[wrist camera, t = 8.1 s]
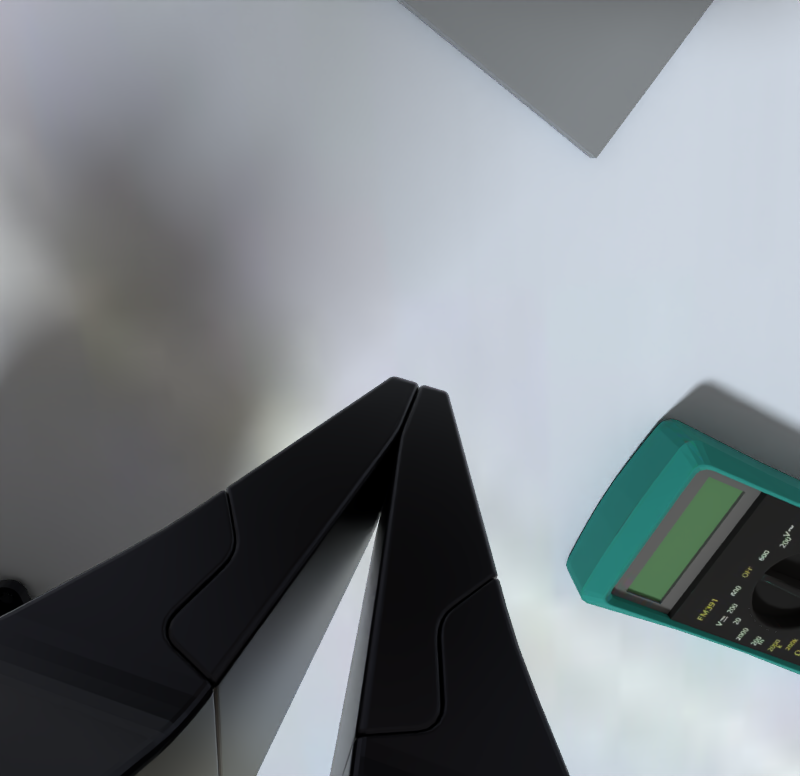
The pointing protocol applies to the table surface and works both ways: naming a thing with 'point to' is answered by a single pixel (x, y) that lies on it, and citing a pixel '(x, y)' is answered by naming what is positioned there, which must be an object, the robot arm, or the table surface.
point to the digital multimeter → (698, 545)
